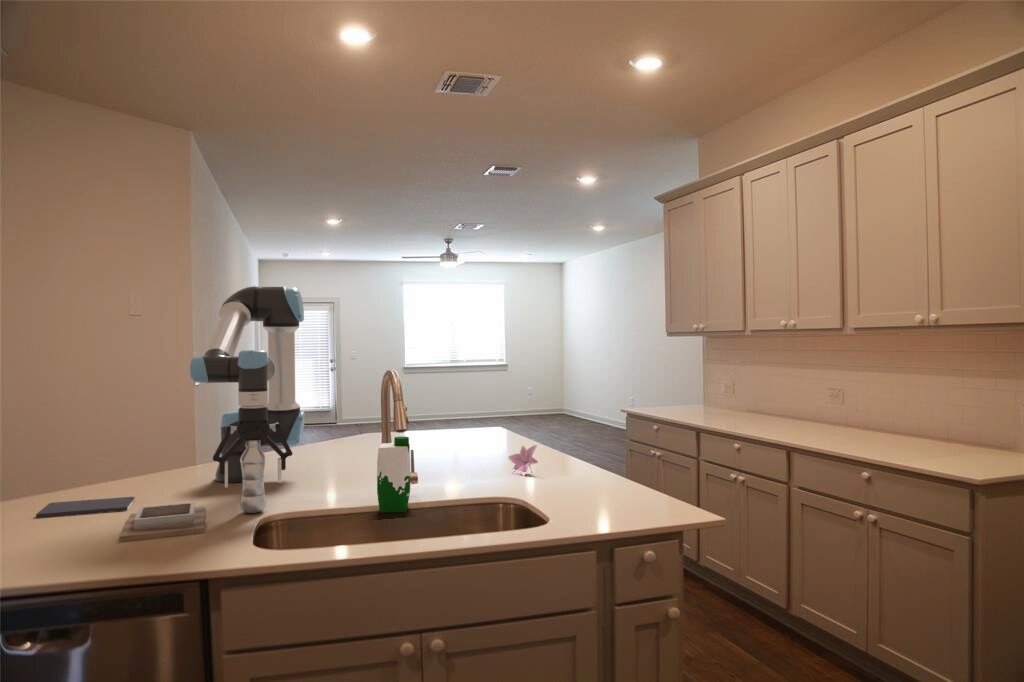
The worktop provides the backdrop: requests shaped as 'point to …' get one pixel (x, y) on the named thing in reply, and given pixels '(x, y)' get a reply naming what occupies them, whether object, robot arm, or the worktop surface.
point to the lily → (523, 458)
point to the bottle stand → (164, 521)
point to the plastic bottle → (253, 478)
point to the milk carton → (393, 475)
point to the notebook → (85, 507)
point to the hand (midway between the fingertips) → (253, 484)
